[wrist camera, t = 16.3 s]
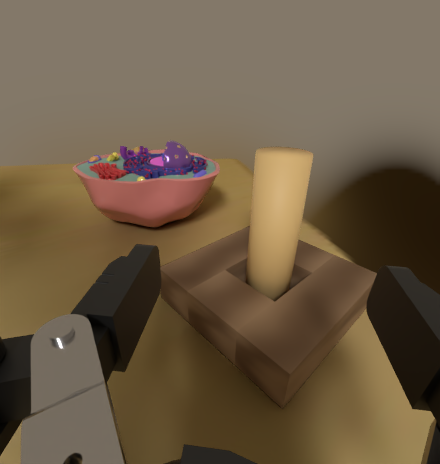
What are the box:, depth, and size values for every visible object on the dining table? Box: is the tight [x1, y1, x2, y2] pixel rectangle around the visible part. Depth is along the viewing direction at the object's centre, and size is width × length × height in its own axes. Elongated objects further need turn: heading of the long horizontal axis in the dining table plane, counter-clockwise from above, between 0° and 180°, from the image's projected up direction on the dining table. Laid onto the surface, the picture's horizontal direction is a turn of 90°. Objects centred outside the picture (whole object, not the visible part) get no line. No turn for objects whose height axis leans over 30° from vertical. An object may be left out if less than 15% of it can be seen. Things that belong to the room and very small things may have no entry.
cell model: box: [73, 140, 220, 227], centre depth 39 cm, size 17×20×11 cm
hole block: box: [160, 226, 377, 409], centre depth 26 cm, size 14×14×4 cm
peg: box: [245, 147, 313, 302], centre depth 23 cm, size 4×4×14 cm
